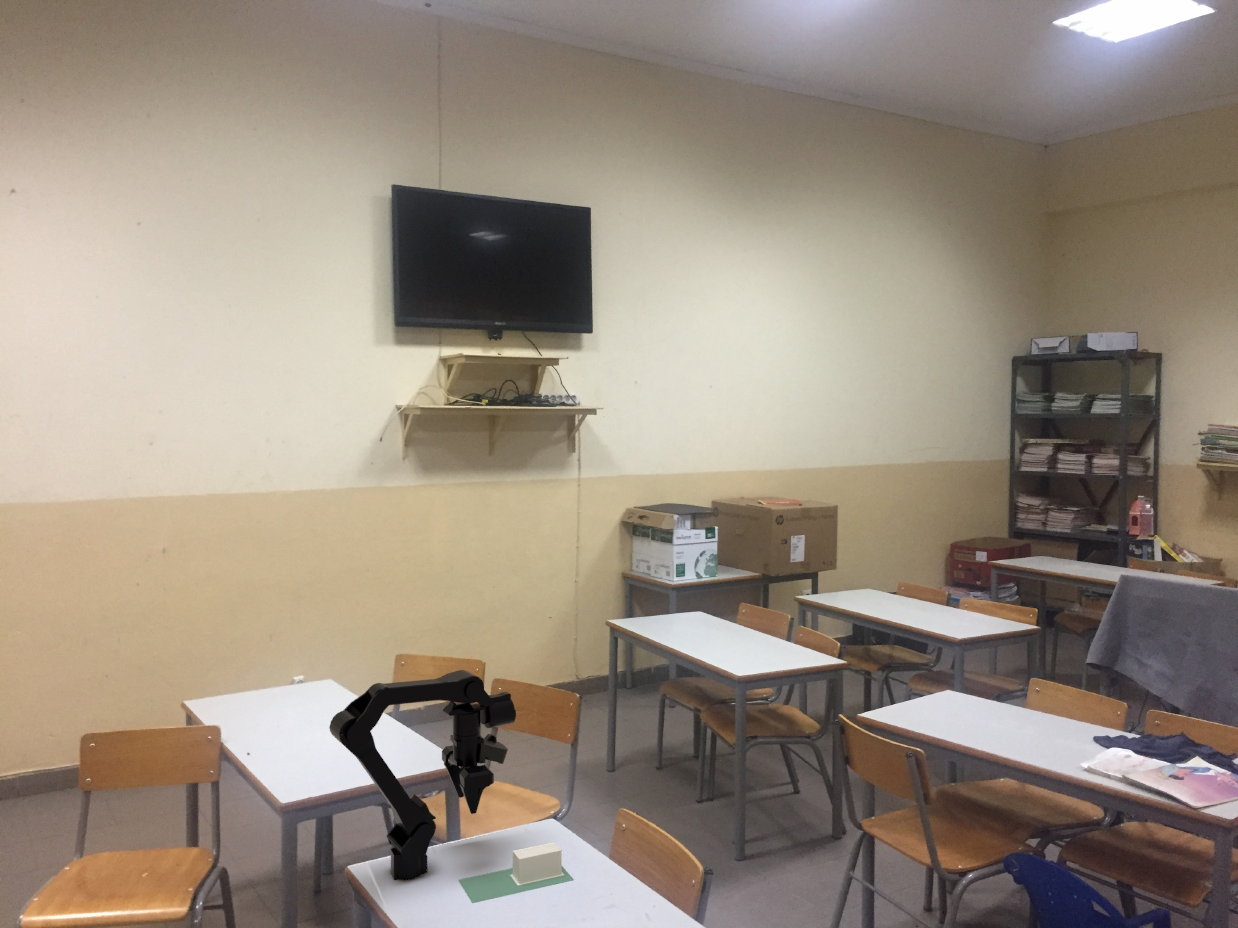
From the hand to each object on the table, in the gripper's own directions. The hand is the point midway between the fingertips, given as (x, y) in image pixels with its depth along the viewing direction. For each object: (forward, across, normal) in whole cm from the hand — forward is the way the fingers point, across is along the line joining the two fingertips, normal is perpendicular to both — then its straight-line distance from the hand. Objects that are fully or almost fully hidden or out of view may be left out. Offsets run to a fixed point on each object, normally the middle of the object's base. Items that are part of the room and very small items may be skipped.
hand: (467, 804), depth 194 cm
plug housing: (+11, -14, -10) cm, 21 cm away
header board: (+12, -14, -6) cm, 19 cm away
